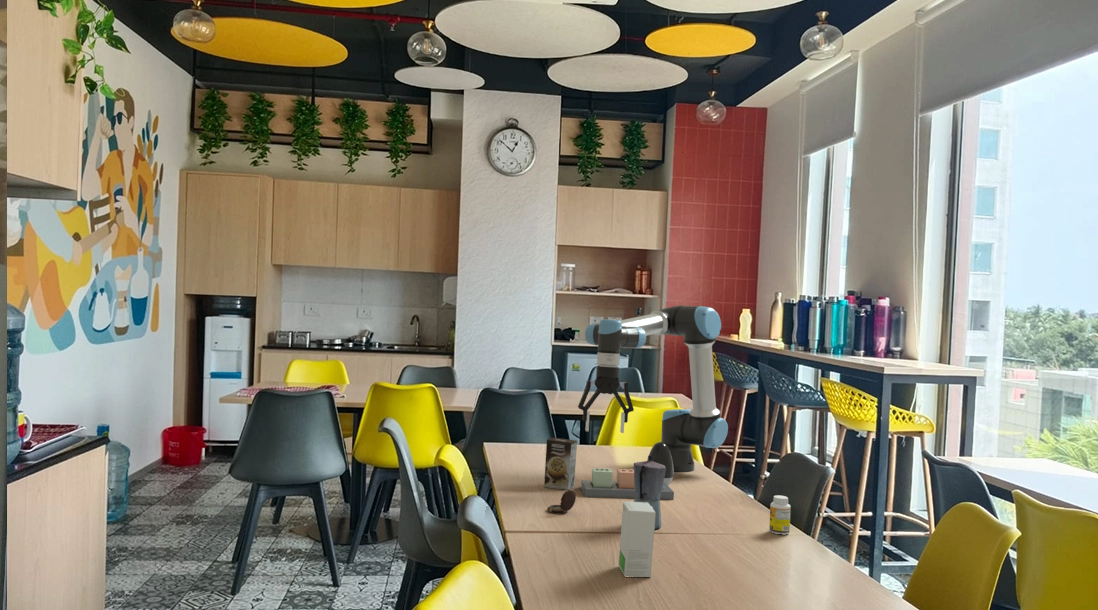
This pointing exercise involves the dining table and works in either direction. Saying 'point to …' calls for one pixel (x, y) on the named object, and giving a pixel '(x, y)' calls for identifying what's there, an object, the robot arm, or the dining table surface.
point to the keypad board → (619, 491)
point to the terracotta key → (625, 478)
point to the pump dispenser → (663, 460)
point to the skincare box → (637, 539)
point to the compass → (564, 503)
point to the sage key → (601, 477)
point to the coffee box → (560, 463)
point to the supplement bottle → (780, 515)
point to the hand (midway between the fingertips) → (604, 431)
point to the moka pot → (649, 485)
